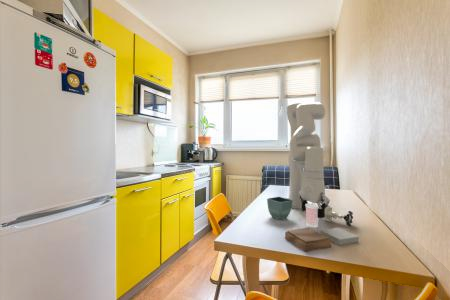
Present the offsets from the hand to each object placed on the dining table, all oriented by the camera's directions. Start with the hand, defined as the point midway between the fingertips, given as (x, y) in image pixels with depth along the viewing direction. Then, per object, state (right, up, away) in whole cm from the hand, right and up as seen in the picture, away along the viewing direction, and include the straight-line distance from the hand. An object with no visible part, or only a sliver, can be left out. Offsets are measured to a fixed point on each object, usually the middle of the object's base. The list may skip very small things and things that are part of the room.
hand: (312, 214), depth 96 cm
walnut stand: (-9, -5, -17) cm, 20 cm away
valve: (+13, -6, +5) cm, 15 cm away
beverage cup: (0, -5, 0) cm, 5 cm away
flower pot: (-12, -5, +10) cm, 16 cm away
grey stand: (+5, -5, -13) cm, 15 cm away
